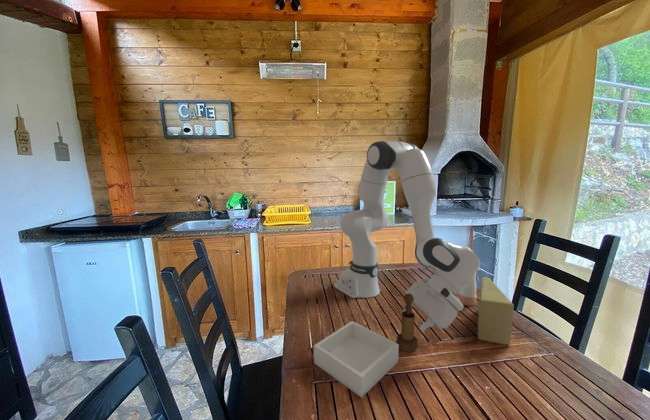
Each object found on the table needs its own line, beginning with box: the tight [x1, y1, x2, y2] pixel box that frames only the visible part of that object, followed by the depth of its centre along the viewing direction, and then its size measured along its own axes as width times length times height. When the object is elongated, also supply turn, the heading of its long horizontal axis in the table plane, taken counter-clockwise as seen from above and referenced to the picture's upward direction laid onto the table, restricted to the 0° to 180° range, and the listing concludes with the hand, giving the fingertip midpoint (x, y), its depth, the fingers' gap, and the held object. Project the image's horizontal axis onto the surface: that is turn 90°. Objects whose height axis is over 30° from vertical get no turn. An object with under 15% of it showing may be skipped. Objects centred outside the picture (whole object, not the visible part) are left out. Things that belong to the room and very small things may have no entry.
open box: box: [313, 320, 400, 398], centre depth 84 cm, size 18×18×6 cm
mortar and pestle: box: [396, 293, 418, 353], centre depth 91 cm, size 7×6×18 cm
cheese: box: [477, 276, 515, 346], centre depth 101 cm, size 22×10×15 cm, turn 159°
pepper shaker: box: [457, 272, 478, 307], centre depth 118 cm, size 7×7×19 cm
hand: (412, 320), depth 91 cm, fingers open, 8 cm apart
